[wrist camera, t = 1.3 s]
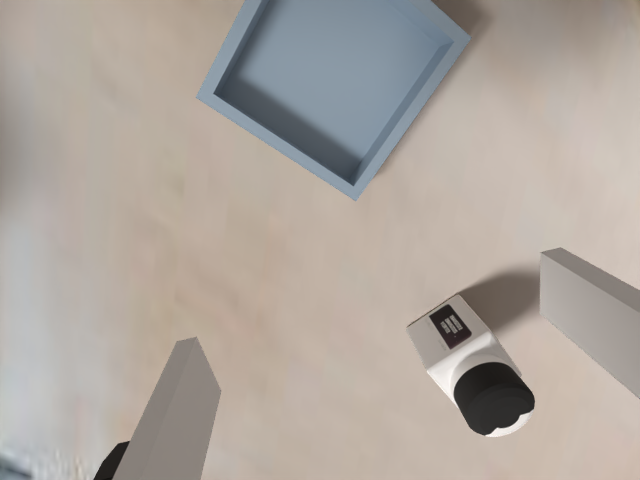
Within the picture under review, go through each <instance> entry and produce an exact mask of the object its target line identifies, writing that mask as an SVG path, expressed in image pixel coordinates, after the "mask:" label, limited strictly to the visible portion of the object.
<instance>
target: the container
mask: <svg viewBox="0 0 640 480" xmlns="http://www.w3.org/2000/svg"><path fill="white" fill-rule="evenodd" d="M406 331H407V334H408V335H409V337H410V339H411V341H412V343H413V345H414V347H415V349H416V351H417V353H418V355H419V357H420V359H421V361H422V363H423V365H424V367H425V369H426V371H427V373H428V374H429V375H430V376H431V377H432V378H433V380H434V381H435V382H436V383H437V384H438V385H439V387H440V388H441V389H442V390H443V391H444V392H445V394H446V395H447V396H448V397H449V398H450V399H451V400H452V402H453V403H454V404H455V405H456V406H457V407H458V409H459V410H460V411H461V413H462V415H463V416H464V418H465V420H466V422H467V424H468V425H469V427H470V428H471V429H472V430H473V431H475V432H476V433H479V434H481V435H484V436H489V437H497V436H503V435H507V434H510V433H512V432H514V431H516V430H518V429H519V428H521V427H522V426H523V425H524V424H525V423H526V422H527V421H528V420H529V419H530V417H531V416H532V413H533V411H534V404H535V399H534V395H533V393H532V392H531V390H530V389H529V388H528V387H527V386H526V384H525V383H524V382H523V381H522V380H521V378H520V377H521V372H520V371H519V369H518V368H517V366H516V365H515V364H514V362H513V361H512V359H511V358H510V357H509V355H508V354H507V352H506V351H505V349H504V348H503V347H502V345H501V344H500V342H499V341H498V340H497V338H496V337H495V335H494V334H493V333H492V331H491V330H490V329H489V328H488V327H487V326H486V324H485V323H484V322H483V321H482V320H481V319H480V318H479V316H478V315H477V314H476V313H475V312H474V311H473V310H472V308H471V307H470V306H469V305H468V304H467V303H466V302H465V301H464V299H463V298H462V297H461V296H460V295H455V296H454V297H452V298H451V299H449V300H448V301H446V302H445V303H443V304H442V305H440V306H439V307H437V308H436V309H434V310H433V311H431V312H430V313H428V314H427V315H425V316H424V317H422V318H421V319H419V320H418V321H416V322H415V323H413V324H412V325H410V326H409V327H407V328H406Z"/></svg>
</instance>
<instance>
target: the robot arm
mask: <svg viewBox="0 0 640 480" xmlns="http://www.w3.org/2000/svg"><path fill="white" fill-rule="evenodd" d="M540 314H541V315H542V316H543V317H544V318H545V319H547V320H548V321H549V322H550V323H551V324H552V325H554V326H555V327H556V328H557V329H558V330H559V331H561V332H562V333H563V334H564V335H565V336H566V337H568V338H569V339H570V340H571V341H572V342H573V343H575V344H576V345H577V346H578V347H579V348H580V349H582V350H583V351H584V352H585V353H586V354H587V355H589V356H590V357H591V358H592V359H593V360H594V361H596V362H597V363H598V364H599V365H600V366H601V367H603V368H604V369H605V370H606V371H607V372H608V373H610V374H611V375H612V376H613V377H614V378H615V379H617V380H618V381H619V382H620V383H621V384H622V385H624V386H625V387H626V388H627V389H628V390H629V391H631V392H632V393H633V394H634V395H635V396H636V397H638V398H639V399H640V290H638V289H636V288H634V287H632V286H631V285H629V284H627V283H625V282H623V281H621V280H620V279H618V278H616V277H614V276H612V275H610V274H609V273H607V272H605V271H603V270H601V269H599V268H598V267H596V266H594V265H592V264H590V263H588V262H587V261H585V260H583V259H581V258H579V257H577V256H576V255H574V254H572V253H570V252H568V251H566V250H565V249H563V248H556V249H552V250H548V251H544V252H540ZM220 394H221V389H220V387H219V385H218V383H217V380H216V378H215V376H214V374H213V372H212V369H211V367H210V365H209V363H208V361H207V358H206V356H205V354H204V352H203V350H202V347H201V345H200V343H199V341H198V339H197V337H194V338H190V339H186V340H181V341H177V342H176V345H175V347H174V349H173V351H172V353H171V355H170V357H169V359H168V362H167V364H166V366H165V368H164V370H163V372H162V374H161V377H160V379H159V381H158V383H157V385H156V387H155V389H154V391H153V394H152V396H151V398H150V400H149V402H148V404H147V406H146V408H145V411H144V413H143V415H142V417H141V419H140V421H139V423H138V426H137V428H136V430H135V432H134V434H133V436H132V438H131V440H130V441H127V442H123V443H119V444H117V445H116V447H115V448H114V449H113V450H112V451H111V453H110V454H109V455H108V456H107V457H106V459H105V460H104V461H103V462H102V464H101V466H100V468H99V470H98V472H97V474H96V476H95V478H94V480H200V479H201V474H202V470H203V466H204V462H205V458H206V453H207V449H208V445H209V441H210V437H211V432H212V428H213V424H214V420H215V415H216V411H217V407H218V403H219V399H220Z"/></svg>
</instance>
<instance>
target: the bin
mask: <svg viewBox="0 0 640 480" xmlns="http://www.w3.org/2000/svg"><path fill="white" fill-rule="evenodd" d="M471 38H472V37H470V36H469V35H468V34H467V33H466V32H465V31H464V30H463V29H462V28H461V27H459V26H458V25H457V24H456V23H455V22H454V21H453V20H452V19H451V18H450V17H448V16H447V15H446V14H445V13H444V12H443V11H442V10H441V9H440V8H438V7H437V6H436V5H435V4H434V3H433V2H432V1H431V0H245V2H244V4H243V6H242V8H241V9H240V11H239V13H238V15H237V17H236V19H235V21H234V23H233V25H232V27H231V29H230V31H229V33H228V35H227V37H226V39H225V41H224V43H223V45H222V47H221V49H220V51H219V53H218V55H217V57H216V59H215V61H214V62H213V64H212V66H211V68H210V70H209V72H208V74H207V76H206V78H205V80H204V82H203V84H202V86H201V88H200V90H199V92H198V94H197V96H196V98H197V99H199V100H200V101H202V102H203V103H205V104H206V105H208V106H210V107H211V108H213V109H214V110H216V111H217V112H219V113H220V114H222V115H223V116H225V117H227V118H228V119H230V120H231V121H233V122H234V123H236V124H237V125H239V126H240V127H242V128H244V129H245V130H247V131H248V132H250V133H251V134H253V135H254V136H256V137H257V138H259V139H261V140H262V141H264V142H265V143H267V144H268V145H270V146H271V147H273V148H274V149H276V150H278V151H279V152H281V153H282V154H284V155H285V156H287V157H288V158H290V159H292V160H293V161H295V162H296V163H298V164H299V165H301V166H302V167H304V168H305V169H307V170H309V171H310V172H312V173H313V174H315V175H316V176H318V177H319V178H321V179H322V180H324V181H326V182H327V183H329V184H330V185H332V186H333V187H335V188H336V189H338V190H339V191H341V192H343V193H344V194H346V195H347V196H349V197H350V198H352V199H353V200H355V201H357V199H358V198H359V196H360V195H361V194H362V192H363V191H364V189H365V188H366V187H367V185H368V184H369V182H370V181H371V180H372V178H373V177H374V175H375V174H376V172H377V171H378V170H379V168H380V167H381V165H382V164H383V163H384V161H385V160H386V158H387V157H388V155H389V154H390V153H391V151H392V150H393V148H394V147H395V146H396V144H397V143H398V141H399V140H400V139H401V137H402V136H403V134H404V133H405V131H406V130H407V129H408V127H409V126H410V124H411V123H412V122H413V120H414V119H415V117H416V116H417V114H418V113H419V112H420V110H421V109H422V107H423V106H424V105H425V103H426V102H427V100H428V99H429V98H430V96H431V95H432V93H433V92H434V90H435V89H436V88H437V86H438V85H439V83H440V82H441V81H442V79H443V78H444V76H445V75H446V73H447V72H448V71H449V69H450V68H451V66H452V65H453V64H454V62H455V61H456V59H457V58H458V57H459V55H460V54H461V52H462V51H463V49H464V48H465V47H466V45H467V44H468V42H469V41H470V40H471Z"/></svg>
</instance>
